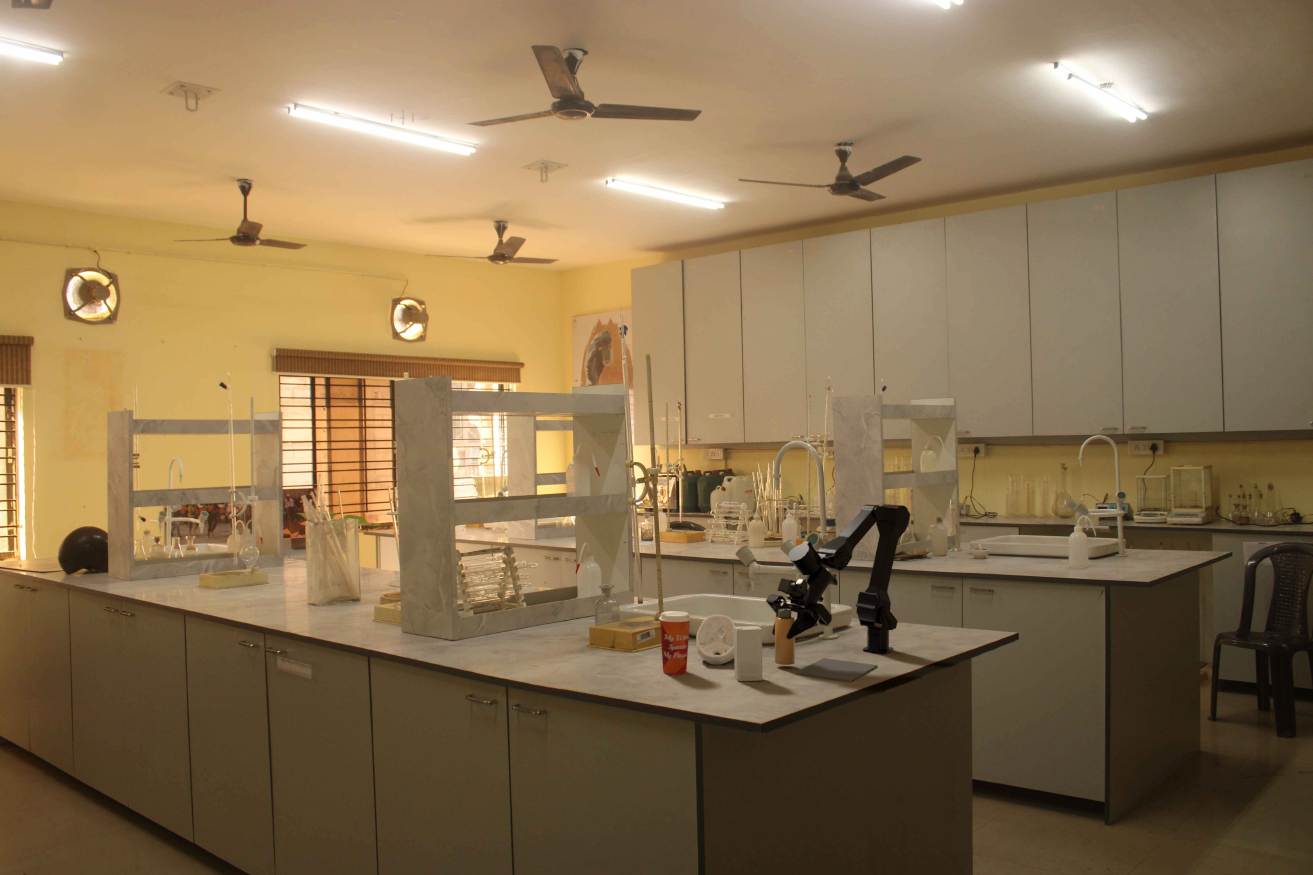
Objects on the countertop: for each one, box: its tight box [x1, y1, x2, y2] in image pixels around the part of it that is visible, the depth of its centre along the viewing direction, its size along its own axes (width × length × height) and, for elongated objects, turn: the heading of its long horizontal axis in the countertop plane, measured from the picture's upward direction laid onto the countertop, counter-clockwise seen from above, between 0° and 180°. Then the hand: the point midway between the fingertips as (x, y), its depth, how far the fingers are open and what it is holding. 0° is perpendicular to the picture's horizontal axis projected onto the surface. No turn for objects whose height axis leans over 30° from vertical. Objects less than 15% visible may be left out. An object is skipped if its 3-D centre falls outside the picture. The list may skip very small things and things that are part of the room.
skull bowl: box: [695, 614, 736, 666], centre depth 242 cm, size 10×14×12 cm
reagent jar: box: [774, 609, 796, 666], centre depth 235 cm, size 5×5×13 cm
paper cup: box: [658, 610, 692, 676], centre depth 229 cm, size 8×8×14 cm
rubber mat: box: [794, 657, 878, 683], centre depth 232 cm, size 18×14×1 cm
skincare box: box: [733, 625, 763, 682], centre depth 222 cm, size 6×4×12 cm
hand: (780, 636), depth 234 cm, fingers closed on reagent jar, 5 cm apart
